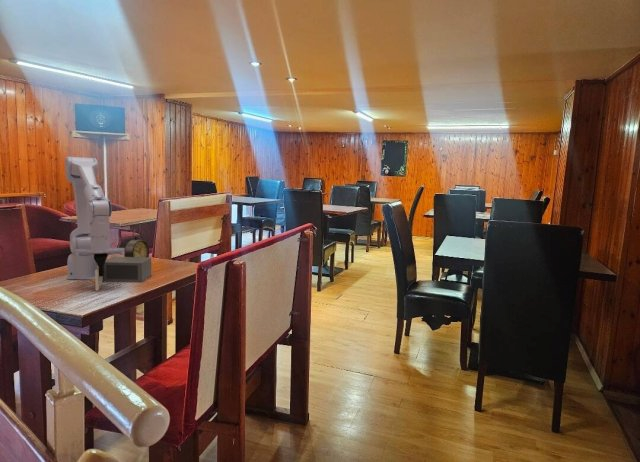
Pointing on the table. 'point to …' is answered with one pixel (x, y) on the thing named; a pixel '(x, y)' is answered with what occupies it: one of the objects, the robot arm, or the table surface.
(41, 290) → the table surface
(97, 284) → the door
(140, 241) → the alarm clock
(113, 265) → the housing
